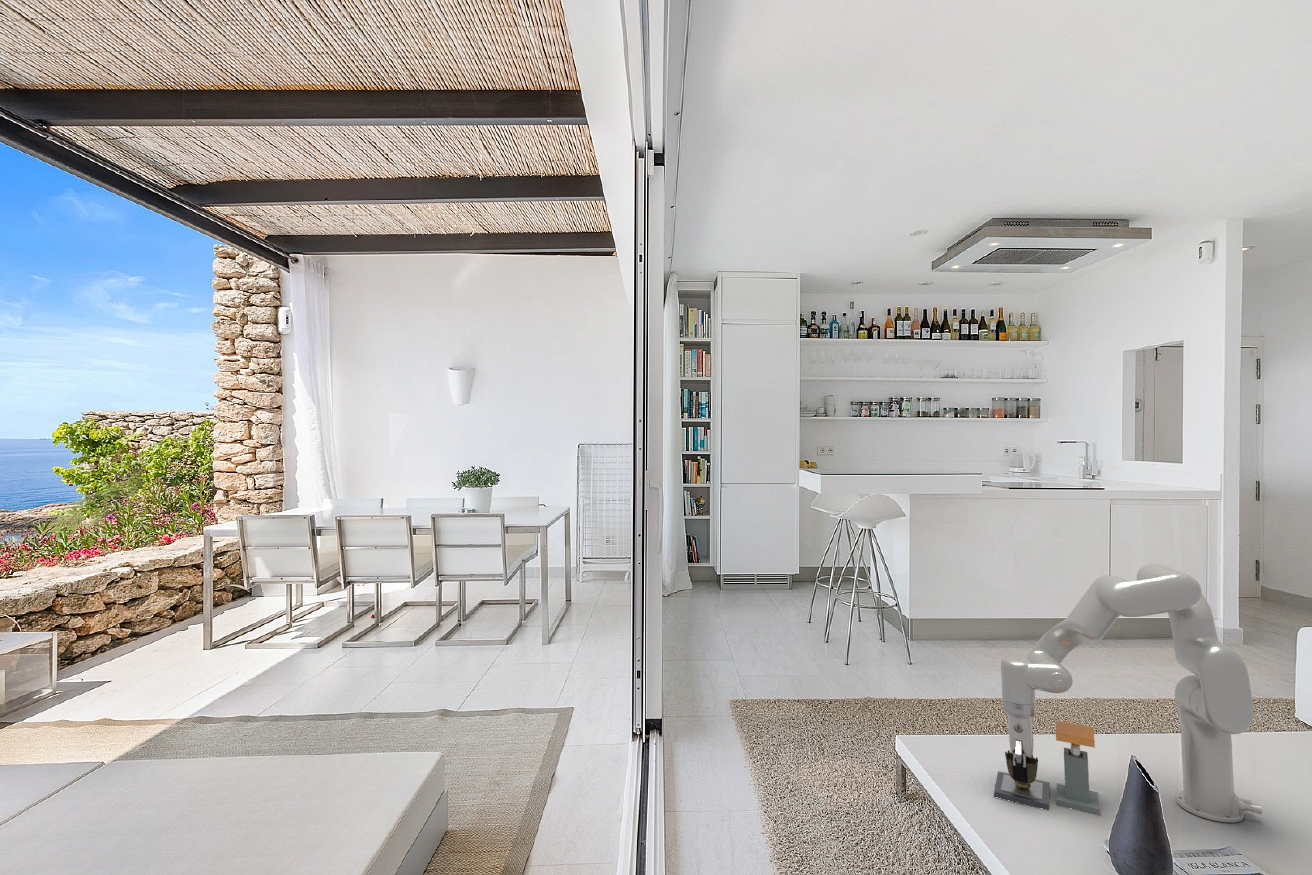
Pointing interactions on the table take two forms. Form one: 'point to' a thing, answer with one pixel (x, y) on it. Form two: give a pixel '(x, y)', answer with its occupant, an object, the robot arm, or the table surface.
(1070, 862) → the table surface
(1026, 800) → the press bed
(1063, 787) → the press stand
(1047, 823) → the table surface
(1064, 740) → the handle
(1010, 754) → the wire cup brush
